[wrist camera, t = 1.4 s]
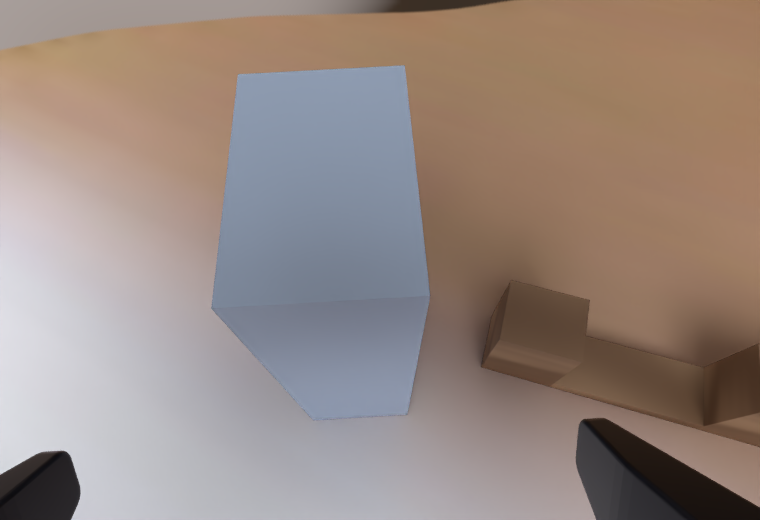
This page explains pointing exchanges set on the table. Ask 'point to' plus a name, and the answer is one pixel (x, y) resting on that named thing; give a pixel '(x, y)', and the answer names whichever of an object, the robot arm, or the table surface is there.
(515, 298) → the notched walnut block
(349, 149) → the pale blue block
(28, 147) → the table surface
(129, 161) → the table surface
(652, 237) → the table surface
